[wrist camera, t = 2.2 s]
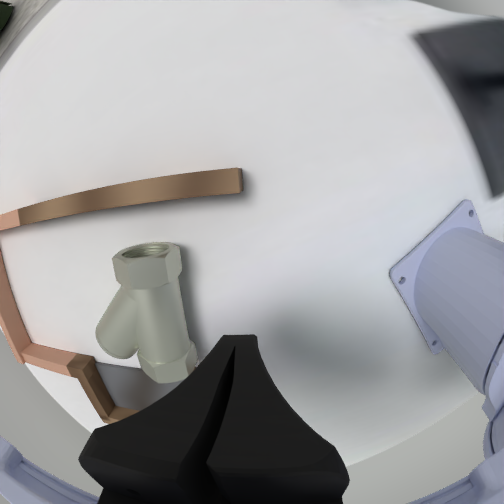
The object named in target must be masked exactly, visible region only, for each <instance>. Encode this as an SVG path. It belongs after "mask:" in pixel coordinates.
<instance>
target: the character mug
mask: <svg viewBox="0 0 504 504" xmlns="http://www.w3.org/2000/svg"><path fill="white" fill-rule="evenodd" d="M10 4H11V3H7V2H3V1H0V31H1V29H2V28H3V27H4V26H5V24H6V22H7V20H8V19H9V17H10V15H11V12H12V9H13V7H12V6H8V5H10Z"/></svg>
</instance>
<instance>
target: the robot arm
mask: <svg viewBox="0 0 504 504" xmlns="http://www.w3.org/2000/svg"><path fill="white" fill-rule="evenodd" d="M469 211H470V215H469ZM401 277H403V279H402V281H401V282H398V281H399V279H400V278H401ZM390 278H391V280H392V281H393V283H394V284H395V286H396V288H397V289H398V291H399V293H400V295H401V296H402V298H403V300H404V301H405V303H406V305H407V307H408V308H409V310H410V312H411V314H412V315H413V317H414V319H415V321H416V323H417V325H418V326H419V328H420V330H421V332H422V334H423V336H424V338H425V340H426V342H427V344H428V346H429V348H430V350H431V352H432V353H433V354H438V353H439V352H440V351H441V350H443V349H444V348H445V349H446V351H447V352H448V353H449V354H450V355H451V357H452V358H453V359H454V360H455V362H456V363H457V364H458V366H459V367H460V368H461V369H462V371H463V372H464V373H465V375H466V376H467V377H468V379H469V380H470V381H471V382H472V384H473V385H474V387H475V388H476V389H477V390H478V391H479V392H480V393H482V394H484V395H486V399H485V402H484V404H483V406H482V409H483V411H484V412H485V414H486V415H487V417H488V418H489V423H488V425H487V427H486V430H485V434H484V440H483V451H484V457H485V461H483V462H482V463H481V464H479V465H478V466H477V467H476V468H475V469H473V470H472V472H471V473H470V474H469V475H468V476H466V477H465V478H463V479H461V480H459V481H457V482H455V483H453V484H451V485H449V486H447V487H445V488H443V489H441V490H439V491H437V492H435V493H432V494H430V495H428V496H425V497H423V498H420V499H418V500H415V501H413V502H410V503H407V504H504V243H503V242H501V241H499V240H496V239H494V238H492V237H489V236H487V235H484V233H483V230H482V227H481V224H480V221H479V219H478V216H477V213H476V211H475V208H474V206H473V203H472V202H471V201H470V200H468V199H465V200H463V201H462V202H461V203H460V205H459V206H458V207H457V208H456V209H455V210H454V211H453V212H452V213H451V214H450V215H449V216H448V217H447V218H446V219H445V220H444V221H443V222H442V223H441V224H440V225H439V226H438V227H437V228H436V229H435V230H434V231H433V232H432V233H431V234H430V235H428V236H427V237H426V238H425V239H424V240H423V241H422V242H421V243H420V244H419V245H418V246H417V247H416V248H414V249H413V250H412V251H411V252H410V253H409V254H408V255H407V256H406V257H404V258H403V259H402V260H401V261H400V262H399V263H397V264H396V265H395V266H394V267H393V268H392V269H391V271H390ZM433 341H434V342H433ZM78 460H79V462H80V464H81V466H82V468H83V469H84V470H85V471H86V472H87V473H88V474H89V475H90V476H91V477H92V478H94V480H96V481H97V482H98V483H99V484H100V485H101V486H102V487H103V491H102V493H101V495H100V497H97V496H95V495H92V494H90V493H88V492H85V491H83V490H81V489H79V488H77V487H75V486H73V485H71V484H69V483H67V482H65V481H63V480H61V479H59V478H57V477H56V476H54V475H52V474H50V473H48V472H47V471H45V470H43V469H41V468H40V467H38V466H37V465H35V464H33V463H32V462H30V461H29V460H27V459H26V458H24V457H23V456H22V454H21V453H20V452H19V451H18V450H17V449H16V448H15V447H14V446H13V445H12V444H10V443H9V442H8V441H7V440H5V439H4V438H3V437H1V436H0V494H1V495H2V496H3V497H4V498H5V499H7V500H8V501H9V502H10V503H11V504H343V502H342V495H343V493H344V492H345V490H346V488H347V486H348V485H349V481H350V479H349V475H348V472H347V469H346V467H345V464H344V462H343V460H342V458H341V456H340V455H339V453H338V451H337V450H336V448H335V447H334V446H333V445H332V444H330V443H329V442H328V441H326V440H325V439H324V438H322V437H321V436H320V435H319V434H318V433H316V432H315V431H314V430H313V429H312V428H311V427H310V426H309V425H308V424H306V423H305V422H304V421H303V419H302V418H301V417H300V416H299V415H298V414H297V413H296V412H295V411H294V410H293V409H292V408H291V406H290V405H289V404H288V403H287V401H286V400H285V399H284V397H283V396H282V395H281V393H280V392H279V390H278V389H277V387H276V386H275V384H274V382H273V381H272V379H271V377H270V375H269V373H268V371H267V369H266V367H265V365H264V362H263V360H262V358H261V355H260V352H259V349H258V341H257V336H255V335H254V334H253V335H223V336H222V337H221V339H220V340H219V341H218V343H217V344H216V345H215V346H214V348H213V349H212V350H211V351H210V353H209V354H208V355H207V356H206V357H205V359H204V360H203V361H202V362H201V363H200V364H199V365H198V367H197V368H196V369H195V370H194V371H193V372H192V373H191V374H190V375H189V376H188V377H187V378H186V379H185V380H184V381H182V382H181V383H180V384H179V385H178V386H177V387H176V388H174V389H173V390H172V391H170V392H169V393H168V394H167V395H165V396H164V397H162V398H161V399H159V400H157V401H156V402H154V403H153V404H151V405H150V406H148V407H146V408H145V409H143V410H141V411H139V412H137V413H135V414H133V415H131V416H129V417H126V418H124V419H122V420H119V421H117V422H114V423H111V424H108V425H106V426H103V427H100V428H96V429H95V430H94V431H93V433H92V434H91V436H90V438H89V440H88V441H87V443H86V445H85V447H84V449H83V451H82V452H81V454H80V456H79V459H78Z"/></svg>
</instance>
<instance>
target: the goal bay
mask: <svg viewBox="0 0 504 504" xmlns="http://www.w3.org/2000/svg"><path fill="white" fill-rule="evenodd" d="M17 226H20V222H19V216H18V209H17V210H14V211H11V212H8V213H5V214H2V215H0V230H4V229H8V228H12V227H17ZM0 325H1V327H2V330H3V332H4V334H5V337H6V339H7V341H8V343H9V345H10V347H11V349H12V352H13V354H14V356H15V358H16V359H17V361H18V362H19V363H22V364H24V363H25V362H26V363H29V364H32V365H35V366H38V367H41V368H44V369H47V370H50V371H53V372H57V373H60V374H63V375H67V376H71V375H70V373H69V371H68V369H67V367H66V366H67V364H68V363H69V362H70V361H71V360H72V359H73V358H74V357H75V355H76V354H77V353H72V352H67V351H63V350H58V349H54V348H50V347H46V346H41V345H38V344H34V343H31V341H30V339H29V336H28V334H27V332H26V329H25V327H24V325H23V322H22V319H21V317H20V314H19V312H18V309H17V306H16V303H15V300H14V297H13V294H12V291H11V288H10V285H9V282H8V278H7V275H6V271H5V267H4V263H3V259H2V255H1V251H0Z"/></svg>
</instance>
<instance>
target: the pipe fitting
mask: <svg viewBox="0 0 504 504" xmlns="http://www.w3.org/2000/svg"><path fill="white" fill-rule="evenodd" d="M112 261H113V266H114V271H115V276H116V281H117V282H118V283H119V284H121V287H120V289H119V290H118V292H117V293H116V295H115V296H114V298H113V300H112V301H111V303H110V305H109V306H108V308H107V309H106V311H105V313H104V314H103V316H102V318H101V320H100V321H99V323H98V325H97V327H96V332H95V333H96V339H97V341H98V343H99V345H100V347H101V348H102V349H103V350H104V351H105V352H106V353H107V354H109V355H110V356H112V357H115V358H118V359H127V358H130V357H132V356H133V355H134V354H135V353H136V352H137V350H138V349H139V351H138V353H137V356H138V359H139V362H140V365H141V368H142V370H143V371H144V372H145V373H146V374H147V375H148V376H149V377H150V378H151V379H153V380H154V381H156V382H157V383H172V382H177V381H180V380H183V379H186V378H187V377H188V376H189V375H190V374H191V373H192V372H193V370H194V368H195V365H196V362H197V359H198V357H197V352H196V347H195V343H194V342H192V341H191V340H190V339H189V336H188V331H187V325H186V320H185V314H184V309H183V303H182V297H181V291H180V285H179V279H178V276H179V274H180V273H181V271H182V263H181V255H180V247H178V246H176V245H174V244H172V243H167V242H153V243H145V244H139V245H135V246H131V247H128V248H125V249H123V250H121V251H119V252H118V253H117V254H116V255H115V256H114V257H113V258H112Z"/></svg>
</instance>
